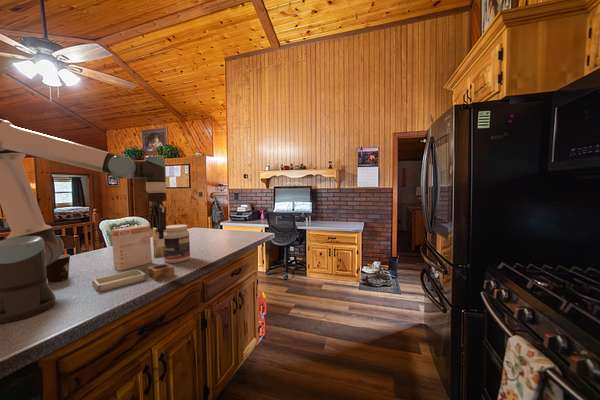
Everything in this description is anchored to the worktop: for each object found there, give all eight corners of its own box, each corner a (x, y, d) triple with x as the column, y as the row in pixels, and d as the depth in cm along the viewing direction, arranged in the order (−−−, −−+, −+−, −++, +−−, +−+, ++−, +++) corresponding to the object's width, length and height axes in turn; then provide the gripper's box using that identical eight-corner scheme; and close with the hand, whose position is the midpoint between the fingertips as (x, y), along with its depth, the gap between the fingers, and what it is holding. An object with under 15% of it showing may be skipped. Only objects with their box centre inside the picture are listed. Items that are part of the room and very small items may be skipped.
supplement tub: (158, 262, 131) (156, 227, 130) (178, 255, 143) (176, 223, 142) (176, 264, 126) (174, 228, 125) (195, 257, 138) (194, 224, 137)
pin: (156, 258, 107) (154, 228, 107) (152, 257, 110) (151, 227, 109) (165, 256, 110) (164, 227, 110) (162, 255, 113) (161, 226, 112)
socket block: (154, 280, 105) (154, 271, 105) (148, 276, 110) (147, 267, 110) (174, 275, 111) (174, 266, 111) (167, 271, 116) (166, 262, 116)
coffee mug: (54, 284, 103) (52, 260, 103) (38, 283, 105) (36, 259, 105) (83, 274, 115) (82, 253, 114) (68, 273, 117) (67, 252, 116)
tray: (98, 292, 94) (98, 285, 94) (92, 285, 101) (92, 279, 101) (146, 279, 106) (145, 273, 106) (137, 274, 114) (137, 268, 113)
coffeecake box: (146, 260, 135) (144, 224, 134) (152, 262, 131) (150, 225, 130) (113, 268, 123) (110, 229, 122) (118, 271, 119) (116, 230, 118)
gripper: (173, 192, 106) (175, 246, 107) (158, 191, 117) (160, 241, 118) (154, 192, 100) (156, 250, 101) (140, 192, 111) (142, 244, 113)
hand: (158, 245), depth 110 cm, fingers closed on pin, 4 cm apart
